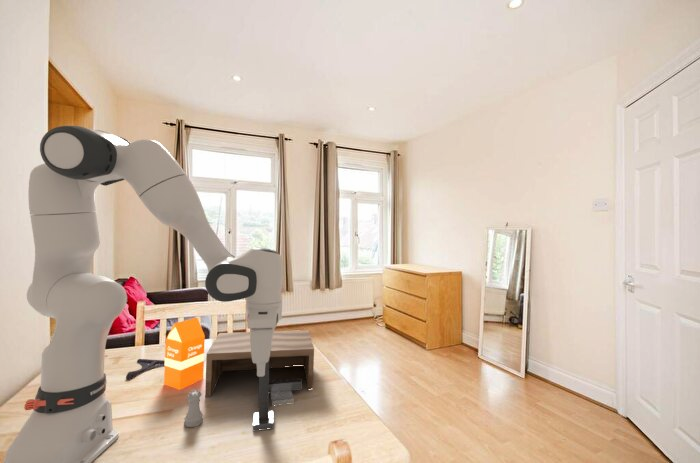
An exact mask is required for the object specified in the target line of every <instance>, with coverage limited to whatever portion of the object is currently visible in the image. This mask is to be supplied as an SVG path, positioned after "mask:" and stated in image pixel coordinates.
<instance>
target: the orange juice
mask: <svg viewBox="0 0 700 463" xmlns="http://www.w3.org/2000/svg"><path fill="white" fill-rule="evenodd" d="M205 338H206V336H205V332H204V331H203V328H202V326H201V323H200V321H199V319H198V317H193V318H189V319H186V320H183V321H178V322H175V323H173V326H172V327H171V330H170V331H169V332H168V334H167V336H166V338H165V346H164V347H165V348H164V349H165V350H164V360H165V366H164V374H163V375H164V378H163V379H164V380H163V384H164V385H165V386H168V387H172V388H173V389H177V390H182V389H184V388H186V387H189V386H191V385H193V384H195V383H197V382H199V381H201V380H204V371H205V370H204V369H205V368H204V367H205V366H204V365H205V363H204V362H205Z"/></svg>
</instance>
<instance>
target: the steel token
mask: <svg viewBox="0 0 700 463" xmlns="http://www.w3.org/2000/svg"><path fill="white" fill-rule="evenodd" d="M294 399H295V398H294V396H293V393H292V390H290V391H280V392H270V400H271V405H272V406H273V407H275V406H274V405H279V404H287V403H293V402H294V401H295V400H294ZM287 405H288V404H287Z"/></svg>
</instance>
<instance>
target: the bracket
mask: <svg viewBox="0 0 700 463" xmlns="http://www.w3.org/2000/svg"><path fill="white" fill-rule="evenodd" d="M136 363H137V364H138V365H140V366H141V368H139V369H136V370H134V371H129V372H127V374H126V376H125V380H126V381H130V380H133V379H134V378H136V377H137V376H139V375H140V374H142V373H144V372H147V371H150V370H152V369H156V368H163V367H165V359H163V360H161V359H146V358H138V359H137V361H136Z"/></svg>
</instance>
